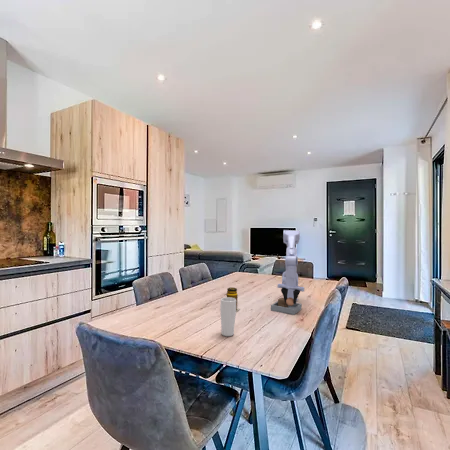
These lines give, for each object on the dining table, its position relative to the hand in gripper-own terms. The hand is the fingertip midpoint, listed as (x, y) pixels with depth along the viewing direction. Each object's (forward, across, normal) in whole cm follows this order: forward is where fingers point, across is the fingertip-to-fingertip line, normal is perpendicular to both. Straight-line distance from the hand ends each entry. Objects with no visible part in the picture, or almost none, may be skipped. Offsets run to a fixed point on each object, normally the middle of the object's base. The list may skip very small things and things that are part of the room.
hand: (290, 302), depth 154 cm
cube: (+4, -6, +5) cm, 9 cm away
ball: (+2, 0, 0) cm, 2 cm away
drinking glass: (+5, -11, -46) cm, 48 cm away
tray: (+5, -3, +2) cm, 6 cm away
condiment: (+5, -28, -16) cm, 33 cm away
